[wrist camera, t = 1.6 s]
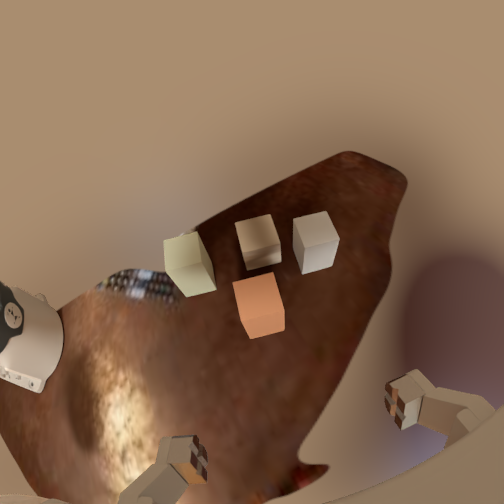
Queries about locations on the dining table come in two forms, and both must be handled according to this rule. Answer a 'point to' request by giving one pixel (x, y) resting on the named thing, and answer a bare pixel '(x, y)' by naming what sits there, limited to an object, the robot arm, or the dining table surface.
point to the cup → (21, 499)
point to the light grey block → (314, 241)
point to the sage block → (189, 264)
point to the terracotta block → (260, 305)
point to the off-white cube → (259, 242)
